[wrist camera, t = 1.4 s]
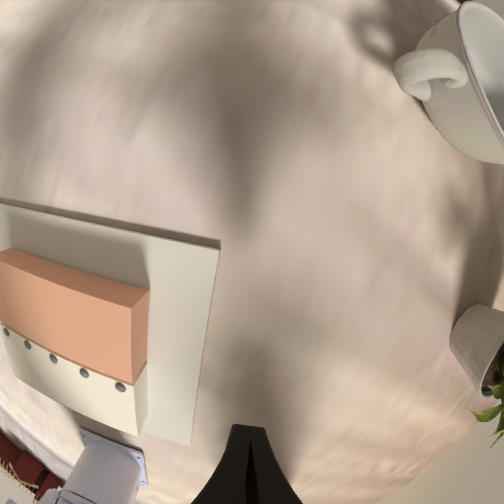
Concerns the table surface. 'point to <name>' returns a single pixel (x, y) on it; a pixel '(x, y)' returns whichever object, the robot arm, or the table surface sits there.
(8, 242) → the mat
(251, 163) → the table surface
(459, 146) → the teacup
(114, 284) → the stub
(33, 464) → the toy houses
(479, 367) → the house plant
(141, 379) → the ticket book
